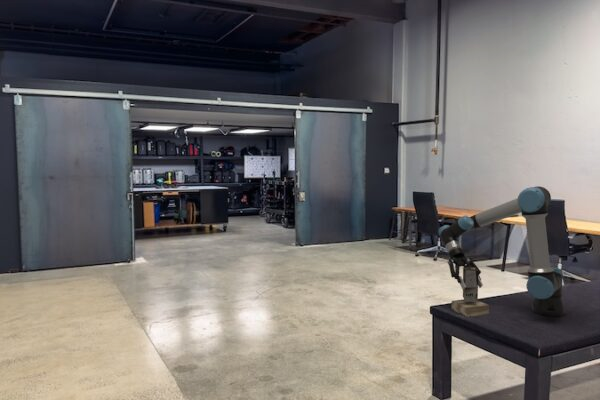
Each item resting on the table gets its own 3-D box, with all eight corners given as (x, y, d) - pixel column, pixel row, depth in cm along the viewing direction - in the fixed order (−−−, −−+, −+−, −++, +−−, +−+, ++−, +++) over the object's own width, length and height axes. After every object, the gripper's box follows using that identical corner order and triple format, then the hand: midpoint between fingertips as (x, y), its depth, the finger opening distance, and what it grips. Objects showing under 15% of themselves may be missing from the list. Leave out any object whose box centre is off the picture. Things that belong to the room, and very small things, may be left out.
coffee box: (478, 302, 242) (478, 270, 241) (464, 301, 243) (465, 270, 242) (475, 297, 251) (475, 266, 250) (462, 296, 252) (462, 266, 251)
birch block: (488, 314, 244) (489, 305, 243) (467, 317, 239) (467, 307, 239) (471, 307, 256) (472, 298, 256) (451, 310, 252) (451, 300, 251)
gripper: (469, 253, 264) (487, 289, 250) (434, 256, 258) (451, 292, 244) (475, 245, 259) (494, 281, 245) (439, 248, 253) (457, 285, 239)
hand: (472, 287), depth 245 cm, fingers closed on coffee box, 9 cm apart
